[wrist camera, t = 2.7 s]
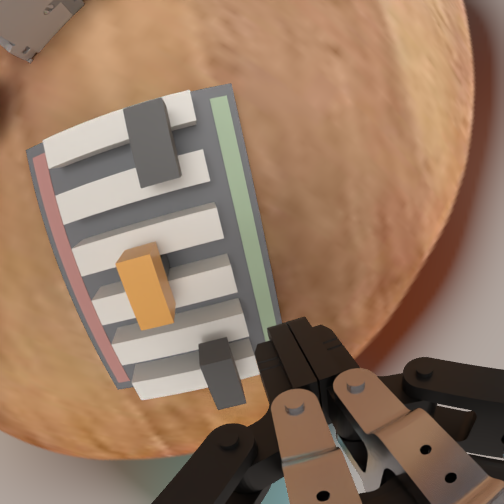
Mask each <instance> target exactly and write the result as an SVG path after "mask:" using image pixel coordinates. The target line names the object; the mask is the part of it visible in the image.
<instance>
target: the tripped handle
mask: <svg viewBox="0 0 504 504" xmlns="http://www.w3.org/2000/svg"><path fill="white" fill-rule="evenodd" d="M115 265H116V267H117V270H118V273H119V276H120V279H121V281H122V284H123V287H124V289H125V292H126V294H127V297H128V300H129V302H130V305H131V307H132V310H133V312H134V314H135V317H136V319H137V322H138V324H139V326H140V329H141V331H142V330H147V329H151V328H155V327H160V326H164V325H168V324H172V323H174V317H175V307H176V302H175V300H174V297H173V294H172V291H171V288H170V285H169V282H168V274H169V269H170V264H169V261H168V257H167V254H162V255H160V254H159V251H158V248H157V244H156V241H155V242H152V243H148V244H145V245H141V246H137V247H134V248H130V249H127V250H125V251H124V252H123V253H122V255H121V256H120V258H119V259H118V260H117V262H116V263H115Z"/></svg>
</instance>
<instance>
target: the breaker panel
mask: <svg viewBox="0 0 504 504" xmlns="http://www.w3.org/2000/svg"><path fill="white" fill-rule="evenodd" d="M26 153H27V158H28V163H29V168H30V172H31V176H32V181H33V185H34V189H35V193H36V197H37V200H38V204H39V208H40V211H41V215H42V218H43V221H44V225H45V228H46V231H47V234H48V237H49V240H50V243H51V246H52V249H53V252H54V255H55V258H56V260H57V263H58V266H59V269H60V271H61V274H62V276H63V279H64V281H65V284H66V286H67V289H68V291H69V294H70V296H71V298H72V301H73V303H74V305H75V308H76V310H77V312H78V314H79V316H80V319H81V321H82V323H83V325H84V327H85V329H86V331H87V333H88V335H89V337H90V339H91V341H92V343H93V345H94V347H95V349H96V351H97V353H98V355H99V357H100V359H101V361H102V362H103V364H104V366H105V368H106V370H107V371H108V373H109V375H110V377H111V378H112V380H113V382H114V384H115V385H116V387H117V389H124V388H131V387H134V388H135V390H136V392H137V393H138V395H139V397H140V399H141V400H146V399H152V398H158V397H164V396H169V395H174V394H179V393H184V392H189V391H194V390H199V389H203V388H209V390H210V392H211V395H212V397H213V399H214V402H215V404H216V406H217V409H218V410H220V409H224V408H229V407H233V406H237V405H241V404H245V403H246V400H245V396H244V392H243V387H242V383H241V379H245V378H248V377H252V376H256V375H259V370H258V366H257V363H256V357H255V354H254V353H255V350H256V347H257V344H259V343H262V342H266V341H269V337H268V332H267V328H268V327H271V326H275V325H278V324H282V320H281V315H280V310H279V305H278V300H277V295H276V290H275V285H274V280H273V275H272V270H271V265H270V261H269V256H268V251H267V246H266V241H265V236H264V231H263V227H262V222H261V217H260V212H259V208H258V203H257V198H256V194H255V189H254V184H253V179H252V175H251V170H250V166H249V161H248V156H247V152H246V147H245V143H244V138H243V134H242V129H241V125H240V120H239V116H238V111H237V107H236V102H235V98H234V93H233V89H232V85H231V83H230V84H225V85H220V86H215V87H210V88H205V89H200V90H196V91H192V92H190V90H187V91H183V92H179V93H175V94H171V95H167V96H163V97H160V98H156V99H152V100H149V101H145V102H142V103H139V104H136V105H132V106H129V107H126V108H123V109H120V110H117V111H114V112H111V113H108V114H105V115H103V116H100V117H97V118H94V119H92V120H89V121H87V122H84V123H81V124H79V125H76V126H74V127H72V128H69V129H67V130H64V131H62V132H60V133H57V134H55V135H53V136H51V137H48V138H46V139H44V140H43V142H42V143H40V144H38V145H36V146H34V147H32V148H29V149H27V150H26ZM155 241H156V244H157V248H158V251H159V254H160V255H162V254H167V257H168V261H169V264H170V269H169V274H168V282H169V285H170V288H171V291H172V294H173V297H174V300H175V302H176V307H175V317H174V323H172V324H168V325H164V326H160V327H155V328H151V329H147V330H142V331H141V329H140V326H139V324H138V322H137V319H136V317H135V314H134V312H133V310H132V307H131V305H130V302H129V300H128V297H127V294H126V292H125V289H124V287H123V284H122V281H121V279H120V276H119V273H118V270H117V267H116V265H115V263H116V262H117V260H118V259H119V258H120V256H121V255H122V253H123V252H124V251H125V250H127V249H130V248H134V247H137V246H141V245H145V244H148V243H152V242H155Z"/></svg>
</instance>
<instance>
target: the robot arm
mask: <svg viewBox="0 0 504 504" xmlns="http://www.w3.org/2000/svg"><path fill="white" fill-rule="evenodd" d="M267 332H268V337H269V341H266V342H262V343H259V344H257V347H256V350H255V353H254V354H255V357H256V361H257V365H258V368H259V372H260V376H261V379H262V383H263V386H264V389H265V392H266V395H267V398H268V401H269V404H270V405H269V409H268V411H267V413H266V414H265V415H264V416H263V417H262V418H261V419H260V420H259V421H257V422H255V423H254V424H252V425H250V426H248V427H246V426H244V425H242V424H235V423H232V424H225V425H222V426H220V427H218V428H216V429H214V430H213V431H212V432H211V433H210V434H209V435H208V436H207V438H206V439H205V440H204V442H203V443H202V444H201V445H200V447H199V448H198V449H197V450H196V452H195V453H194V454H193V455H192V457H191V458H190V459H189V460H188V462H187V463H186V464H185V465H184V466H183V467H182V469H181V470H180V471H179V472H178V473H177V475H176V476H175V477H174V478H173V480H172V481H171V482H170V483H169V484H168V485H167V486H166V488H165V489H164V490H163V491H162V492H161V493H160V494H159V496H158V497H157V498H156V499H155V500H154V501H153V502H152V504H261V502H262V500H263V499H264V497H265V496H266V494H267V492H268V491H269V489H270V486H271V484H272V483H274V482H276V481H277V480H279V479H280V478H282V477H284V478H285V483H286V487H287V492H288V497H289V501H290V504H504V461H502V460H497V459H491V458H486V457H481V456H476V455H471V454H467V453H466V452H469V453H474V454H480V455H486V456H493V457H500V458H504V370H501V369H494V368H488V367H481V366H475V365H468V364H462V363H456V362H451V361H445V360H440V359H434V358H429V357H421V358H416V359H414V360H412V361H410V362H409V363H407V365H406V366H405V367H404V370H403V373H401V374H396V375H390V376H376V375H375V374H374V373H373V372H371V371H369V370H366V369H362V368H360V367H359V366H358V364H357V363H356V362H355V360H354V359H353V358H352V356H351V355H350V354H349V352H348V351H347V350H346V348H345V347H344V346H343V345H342V343H341V342H340V340H339V339H337V337H336V335H335V334H334V333H333V331H332V330H331V329H329V328H327V327H325V326H323V325H318V326H315V327H312V326H311V325H310V323H309V322H308V320H307V319H306V317H301V318H298V319H295V320H292V321H288V322H286V323H282V324H278V325H275V326H271V327H268V328H267ZM437 403H438V404H442V405H447V406H452V407H457V408H463V409H468V410H472V411H468V412H466V411H461V410H456V409H451V408H445V407H441V406H437ZM331 423H332V424H333V426H334V427H335V429H336V439H337V441H338V443H339V444H340V446H341V447H342V449H343V451H344V452H345V454H346V455H347V457H348V458H349V460H350V461H351V463H352V465H353V466H354V467H355V469H356V471H357V472H358V474H359V475H360V477H361V479H362V481H363V485H364V489H365V491H366V493H360V494H358V491H357V489H356V486H355V484H354V481H353V479H352V476H351V473H350V471H349V468H348V466H347V463H346V461H345V458H344V456H343V453H342V451H341V449H340V448H339V447H336V445H335V443H334V441H333V438H332V435H331V433H330V430H329V427H328V424H331Z"/></svg>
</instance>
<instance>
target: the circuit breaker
mask: <svg viewBox="0 0 504 504" xmlns="http://www.w3.org/2000/svg"><path fill="white" fill-rule="evenodd" d="M84 4H85V3H84V2H83V1H82V0H0V45H1V46H3V47H4V48H5V49H6V50H7V51H8V52H9V53H11V54H13V55H15V56H17V57H19V58H21V59H23V60H26V61H28V62H29V63H31V62H32V61H33V60H32V59H31V58H32V57H33V56H34V54H35V53H36V52H37V53H39V52H40V51H41V50H42V49H43V47H44V46H45V45H46V44H47V43H48V42H49V41H50V39H51V38H52V37H53V36H54V35H55V34H56V33H57V32H58V31H59V30H60V29H61V27H62V26H63V25H64V24H65V23H66V22H67V21H68V20H69V19H70V18H71V17H72V16H73V15H74V14H75V13H76V12H77V11H78V10H79V9H80V8H81V7H82V6H84Z"/></svg>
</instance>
